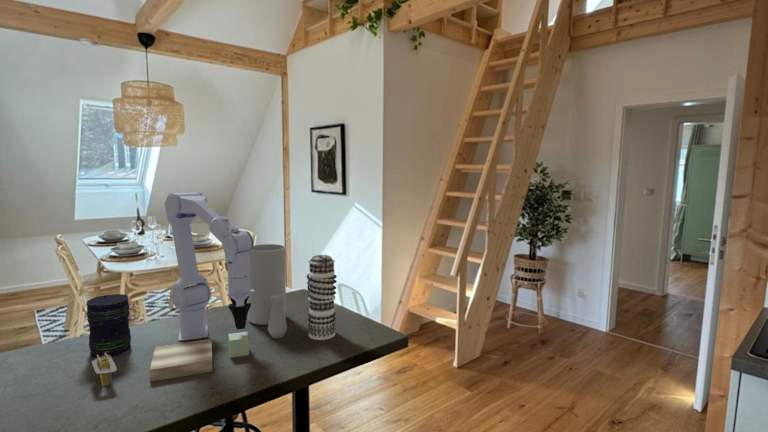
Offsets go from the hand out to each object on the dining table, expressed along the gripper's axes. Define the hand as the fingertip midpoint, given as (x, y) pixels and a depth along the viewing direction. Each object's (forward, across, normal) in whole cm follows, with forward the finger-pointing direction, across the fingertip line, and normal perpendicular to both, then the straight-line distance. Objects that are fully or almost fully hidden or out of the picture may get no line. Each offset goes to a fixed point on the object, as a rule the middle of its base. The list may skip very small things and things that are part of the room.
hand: (240, 323), depth 116 cm
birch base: (+8, -2, +14) cm, 17 cm away
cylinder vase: (+9, +25, -9) cm, 28 cm away
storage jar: (+8, +13, +34) cm, 38 cm away
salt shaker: (+9, +9, -11) cm, 17 cm away
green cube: (+9, 0, +1) cm, 9 cm away
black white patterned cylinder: (+9, +6, -24) cm, 26 cm away
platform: (+9, -6, +31) cm, 33 cm away
